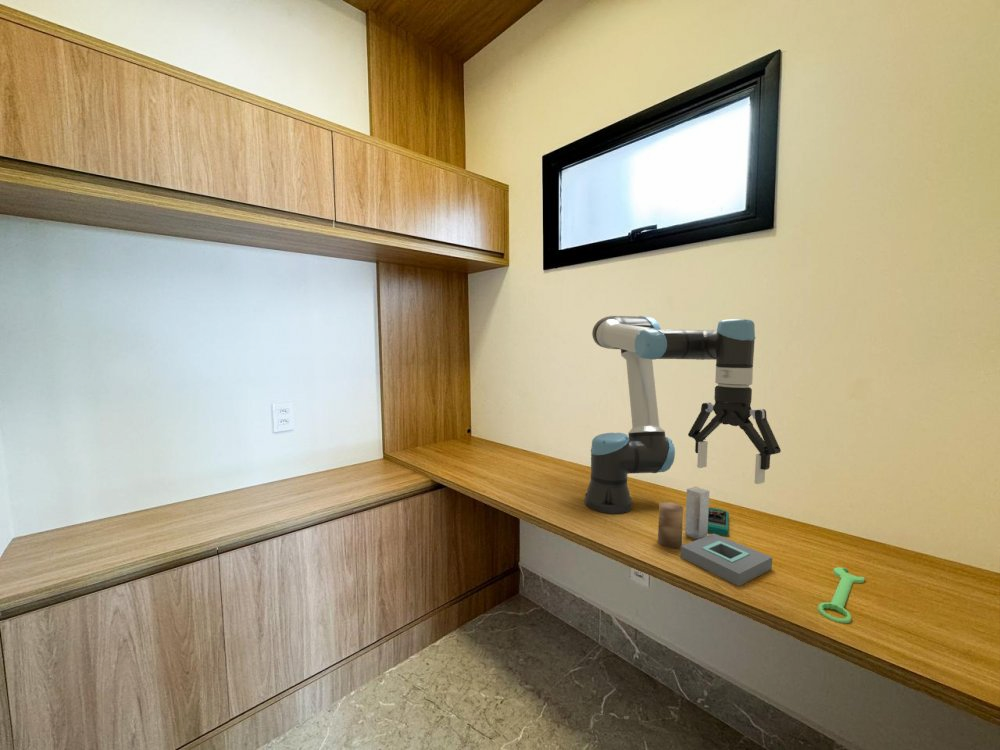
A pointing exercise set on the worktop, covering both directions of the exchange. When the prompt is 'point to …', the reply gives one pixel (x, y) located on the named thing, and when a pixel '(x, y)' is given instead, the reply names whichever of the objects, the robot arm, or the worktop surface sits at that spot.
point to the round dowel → (670, 525)
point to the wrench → (840, 595)
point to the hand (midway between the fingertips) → (728, 474)
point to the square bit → (697, 513)
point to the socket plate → (726, 558)
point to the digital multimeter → (718, 521)
